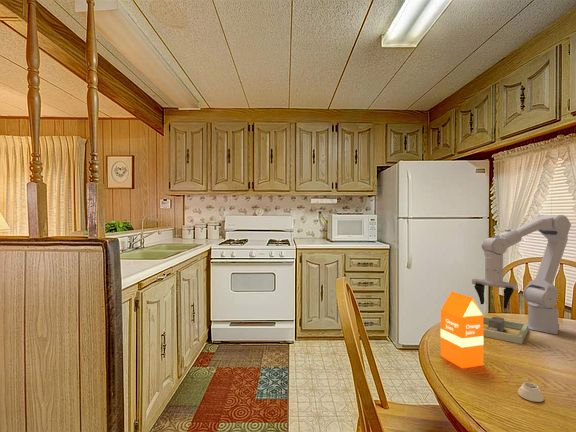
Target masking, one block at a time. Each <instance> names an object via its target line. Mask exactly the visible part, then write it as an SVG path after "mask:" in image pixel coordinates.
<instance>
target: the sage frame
mask: <svg viewBox="0 0 576 432" xmlns="http://www.w3.org/2000/svg"><path fill="white" fill-rule="evenodd" d="M491 318H492V317H490V316H484V315H483V324H488V321H489V320H490V319H491ZM504 328H509V329H513V330H520V331H519V333H518V334H513V333H507V332H504V331H503V332H498V331H493V330H488V328H483V336H484V337H487V338H489V339H490V338H491V339H494V340H499V341H504V342H508V343H514V344H518V345H523V343H524V340H525V338H526V337H527V335H528V332H529V329H528V323H525V322H518V321H513V320H506V319H504Z"/></svg>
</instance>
